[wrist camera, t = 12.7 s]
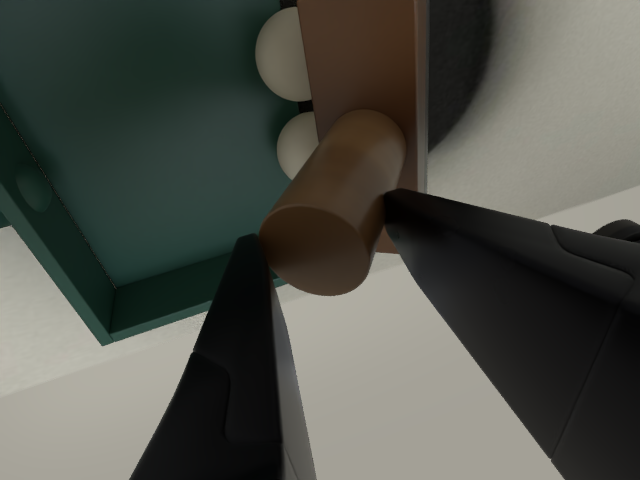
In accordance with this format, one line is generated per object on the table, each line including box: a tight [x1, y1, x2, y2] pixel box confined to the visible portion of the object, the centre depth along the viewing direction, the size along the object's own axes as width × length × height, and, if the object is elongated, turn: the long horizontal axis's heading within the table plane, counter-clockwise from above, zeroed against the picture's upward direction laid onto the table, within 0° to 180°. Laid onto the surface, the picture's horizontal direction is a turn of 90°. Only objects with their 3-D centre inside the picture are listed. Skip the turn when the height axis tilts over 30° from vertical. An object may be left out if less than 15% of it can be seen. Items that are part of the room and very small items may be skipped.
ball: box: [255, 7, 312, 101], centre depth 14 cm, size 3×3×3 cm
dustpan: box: [0, 0, 300, 346], centre depth 13 cm, size 20×13×3 cm, turn 99°
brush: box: [259, 0, 430, 296], centre depth 11 cm, size 8×3×8 cm
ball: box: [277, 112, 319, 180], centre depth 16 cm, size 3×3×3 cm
